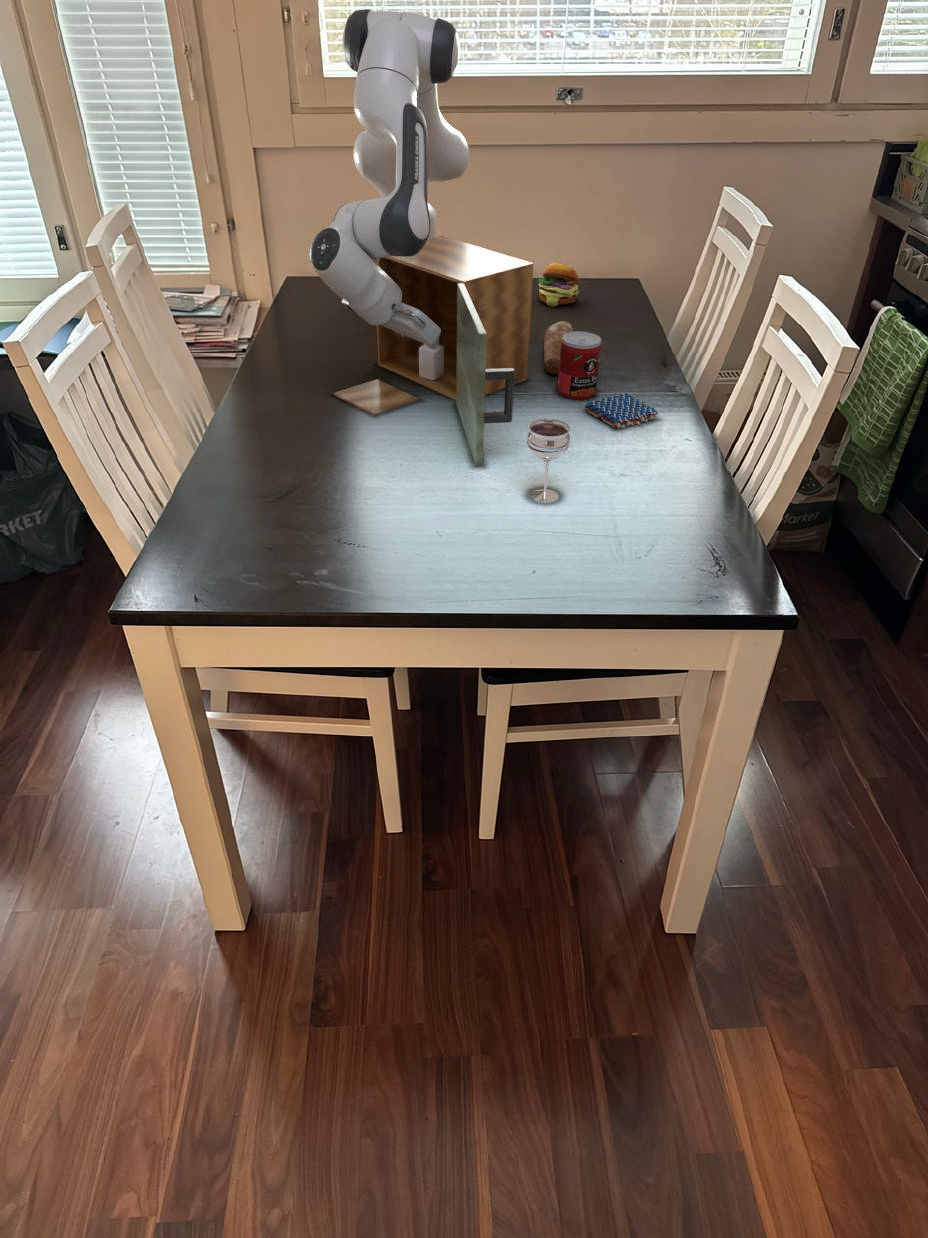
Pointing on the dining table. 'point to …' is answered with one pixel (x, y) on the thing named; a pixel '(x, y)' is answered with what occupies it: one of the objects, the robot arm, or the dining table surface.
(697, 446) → the dining table surface
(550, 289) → the cheeseburger
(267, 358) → the dining table surface
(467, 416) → the cupboard door
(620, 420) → the woven mat
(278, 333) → the dining table surface
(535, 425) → the wineglass
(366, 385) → the coaster
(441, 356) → the pepper shaker
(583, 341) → the canned food
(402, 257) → the cupboard
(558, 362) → the bread
